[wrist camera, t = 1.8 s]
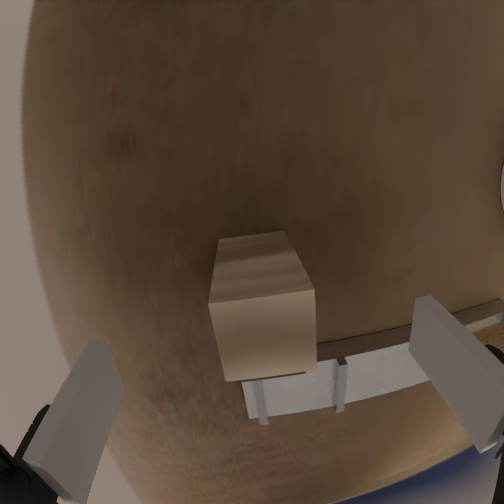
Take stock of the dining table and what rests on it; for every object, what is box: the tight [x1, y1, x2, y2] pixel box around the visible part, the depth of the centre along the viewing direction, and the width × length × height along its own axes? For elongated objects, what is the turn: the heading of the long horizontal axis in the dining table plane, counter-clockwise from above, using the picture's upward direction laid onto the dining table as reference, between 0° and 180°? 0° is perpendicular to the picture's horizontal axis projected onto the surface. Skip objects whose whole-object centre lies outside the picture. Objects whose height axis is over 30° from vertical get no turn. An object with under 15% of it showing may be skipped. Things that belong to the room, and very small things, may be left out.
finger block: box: [208, 230, 317, 383], centre depth 16 cm, size 5×4×8 cm
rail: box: [242, 299, 504, 425], centre depth 18 cm, size 5×24×10 cm, turn 97°
